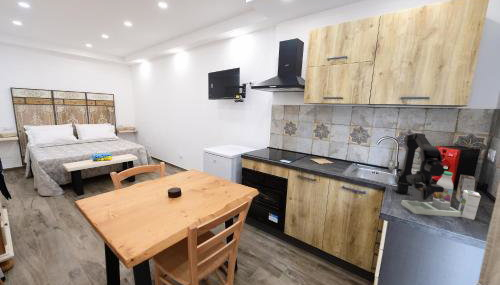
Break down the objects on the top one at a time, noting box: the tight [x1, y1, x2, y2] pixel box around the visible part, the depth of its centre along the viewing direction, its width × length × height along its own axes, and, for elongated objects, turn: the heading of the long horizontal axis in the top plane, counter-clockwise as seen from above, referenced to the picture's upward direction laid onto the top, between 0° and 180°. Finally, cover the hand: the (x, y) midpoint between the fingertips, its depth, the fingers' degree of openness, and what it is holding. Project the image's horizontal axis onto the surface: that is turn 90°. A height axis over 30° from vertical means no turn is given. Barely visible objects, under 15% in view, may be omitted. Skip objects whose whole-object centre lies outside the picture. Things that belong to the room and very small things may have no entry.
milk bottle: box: [432, 170, 454, 203], centre depth 123 cm, size 8×8×20 cm
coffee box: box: [455, 174, 479, 203], centre depth 129 cm, size 9×6×16 cm
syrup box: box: [457, 190, 482, 221], centre depth 107 cm, size 6×6×14 cm
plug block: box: [411, 187, 431, 203], centre depth 112 cm, size 5×5×7 cm
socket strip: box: [400, 199, 461, 218], centre depth 113 cm, size 11×23×4 cm, turn 87°
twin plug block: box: [432, 198, 452, 211], centre depth 112 cm, size 5×5×7 cm
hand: (420, 197), depth 112 cm, fingers closed on plug block, 5 cm apart
